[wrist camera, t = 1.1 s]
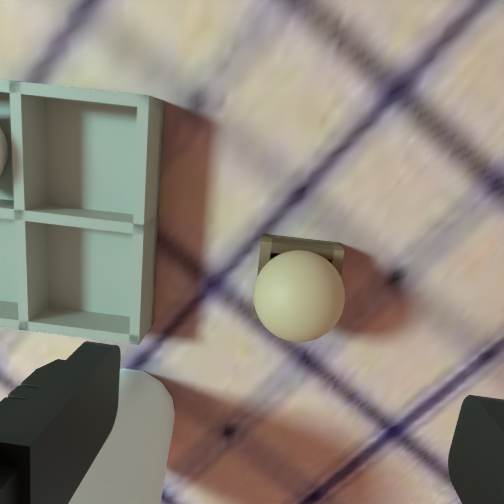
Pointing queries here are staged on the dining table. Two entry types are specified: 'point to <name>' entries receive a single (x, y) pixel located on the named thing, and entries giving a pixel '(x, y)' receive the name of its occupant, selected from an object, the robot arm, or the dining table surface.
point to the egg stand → (282, 244)
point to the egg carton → (79, 210)
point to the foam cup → (132, 446)
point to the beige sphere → (299, 296)
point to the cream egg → (3, 151)
